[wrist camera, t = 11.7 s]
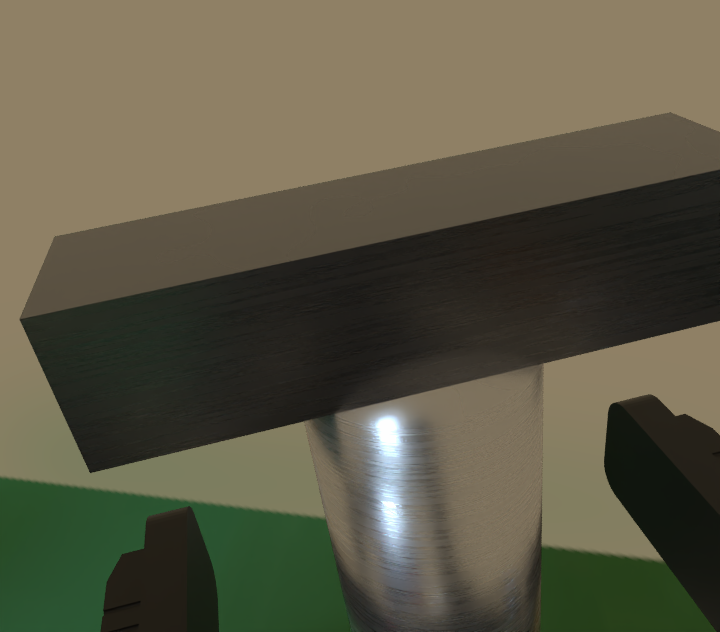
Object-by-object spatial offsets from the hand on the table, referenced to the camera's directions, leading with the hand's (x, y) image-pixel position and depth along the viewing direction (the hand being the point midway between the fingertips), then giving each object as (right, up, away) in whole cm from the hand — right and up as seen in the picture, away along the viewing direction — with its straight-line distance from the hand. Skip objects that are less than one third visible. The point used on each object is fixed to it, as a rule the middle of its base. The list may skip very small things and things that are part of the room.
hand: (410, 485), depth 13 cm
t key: (+2, -11, +4) cm, 12 cm away
